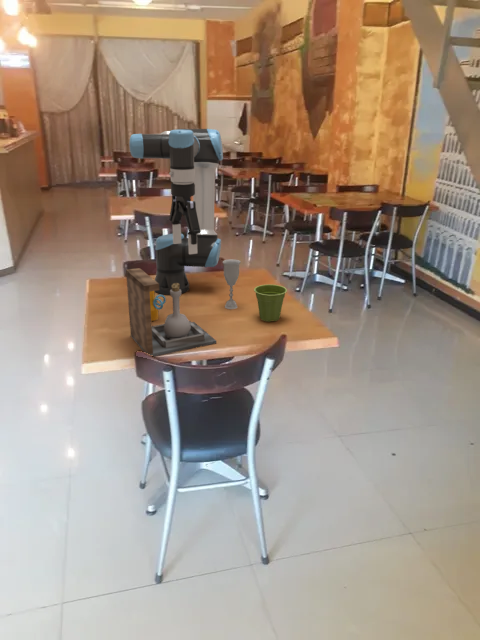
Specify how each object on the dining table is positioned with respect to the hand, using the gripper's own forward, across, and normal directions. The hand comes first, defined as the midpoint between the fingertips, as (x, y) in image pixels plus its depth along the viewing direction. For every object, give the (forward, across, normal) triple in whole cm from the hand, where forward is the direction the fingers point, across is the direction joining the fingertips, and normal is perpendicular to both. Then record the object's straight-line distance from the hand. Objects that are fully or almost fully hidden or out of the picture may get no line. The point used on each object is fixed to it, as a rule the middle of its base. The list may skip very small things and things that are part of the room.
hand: (184, 248), depth 166 cm
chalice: (+29, -10, +22) cm, 38 cm away
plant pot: (+28, +7, +30) cm, 42 cm away
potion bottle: (+27, +9, -8) cm, 29 cm away
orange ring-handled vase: (+28, -12, -10) cm, 32 cm away
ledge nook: (+27, +9, -9) cm, 30 cm away
